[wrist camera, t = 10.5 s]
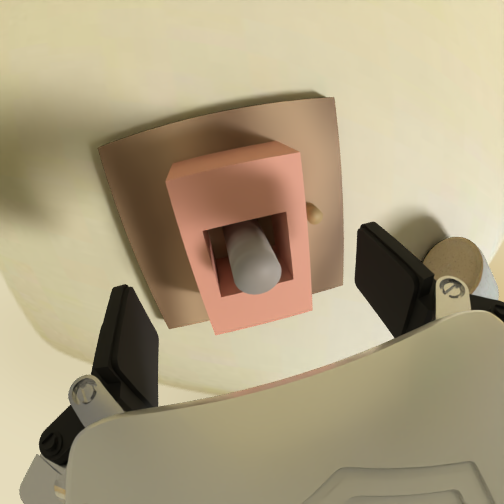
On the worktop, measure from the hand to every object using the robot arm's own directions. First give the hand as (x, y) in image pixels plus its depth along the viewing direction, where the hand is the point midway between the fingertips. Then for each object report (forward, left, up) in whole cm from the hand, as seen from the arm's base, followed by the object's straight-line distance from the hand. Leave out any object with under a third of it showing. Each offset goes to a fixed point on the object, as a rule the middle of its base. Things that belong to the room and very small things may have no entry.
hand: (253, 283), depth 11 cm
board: (0, -1, -8) cm, 8 cm away
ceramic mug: (+19, -12, -8) cm, 24 cm away
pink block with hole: (0, -1, -7) cm, 7 cm away
